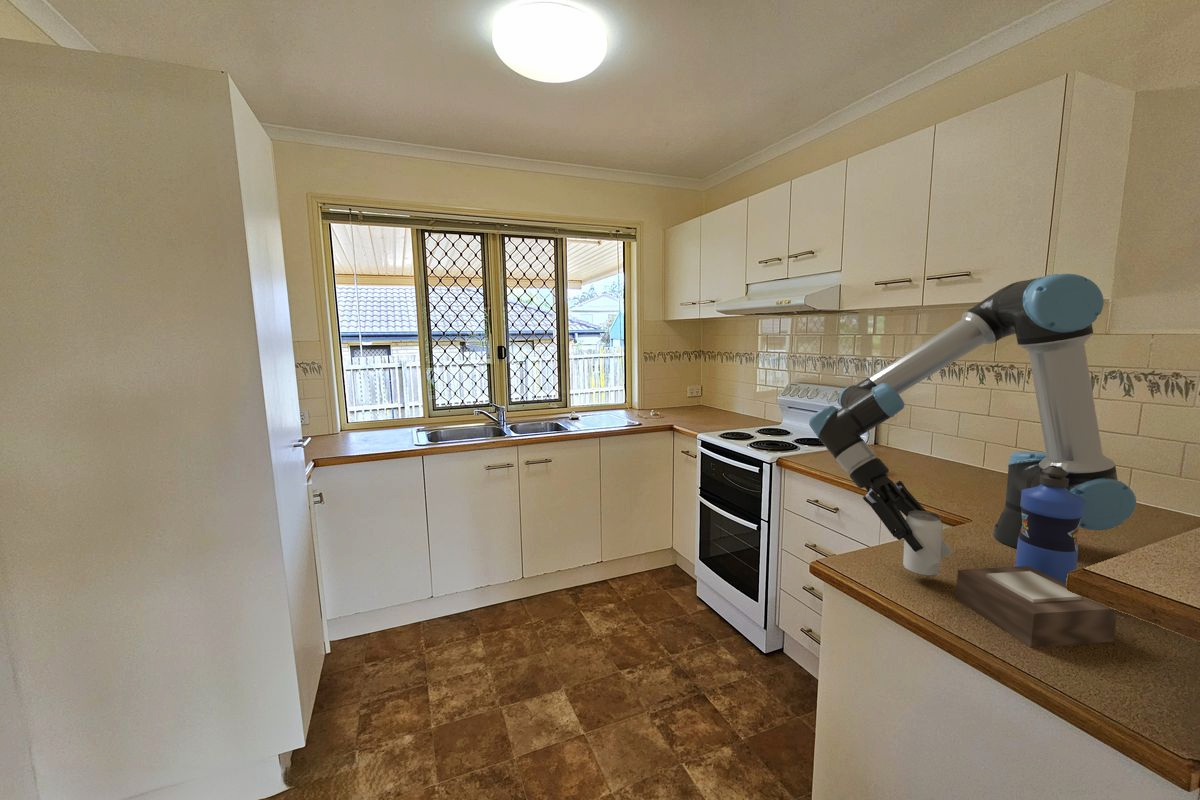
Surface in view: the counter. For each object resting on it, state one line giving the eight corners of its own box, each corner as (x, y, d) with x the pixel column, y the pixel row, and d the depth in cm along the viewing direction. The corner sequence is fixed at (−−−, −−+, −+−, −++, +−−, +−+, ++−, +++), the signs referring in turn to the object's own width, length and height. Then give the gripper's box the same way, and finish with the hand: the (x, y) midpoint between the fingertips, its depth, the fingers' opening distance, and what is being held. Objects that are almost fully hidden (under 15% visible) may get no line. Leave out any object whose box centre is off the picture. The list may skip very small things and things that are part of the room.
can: (904, 559, 104) (907, 507, 103) (940, 567, 100) (944, 513, 99) (900, 571, 99) (903, 516, 98) (938, 580, 95) (942, 523, 94)
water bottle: (1012, 584, 97) (1024, 467, 94) (1013, 568, 104) (1024, 458, 101) (1076, 600, 91) (1091, 475, 88) (1073, 582, 98) (1086, 465, 95)
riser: (1026, 594, 94) (1029, 563, 93) (1113, 641, 79) (1118, 604, 78) (955, 598, 92) (958, 566, 92) (1030, 647, 78) (1034, 610, 77)
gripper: (871, 467, 115) (944, 555, 104) (828, 481, 105) (904, 580, 93) (895, 450, 110) (975, 540, 99) (852, 463, 100) (936, 565, 88)
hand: (940, 559), depth 96 cm, fingers closed on can, 6 cm apart
